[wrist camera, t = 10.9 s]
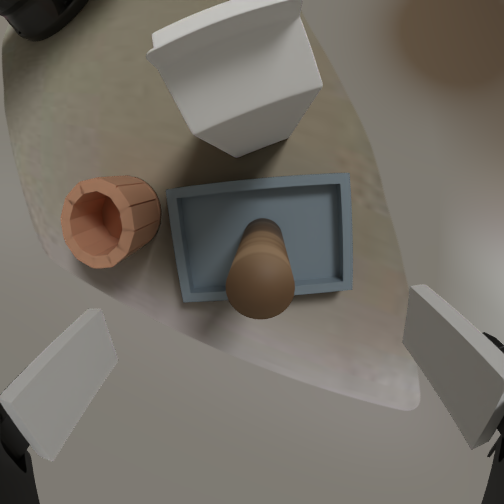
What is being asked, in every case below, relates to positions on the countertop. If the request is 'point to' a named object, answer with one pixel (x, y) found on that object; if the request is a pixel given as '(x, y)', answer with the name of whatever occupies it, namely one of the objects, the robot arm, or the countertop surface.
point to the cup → (109, 219)
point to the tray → (270, 207)
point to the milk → (239, 72)
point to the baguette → (261, 272)
